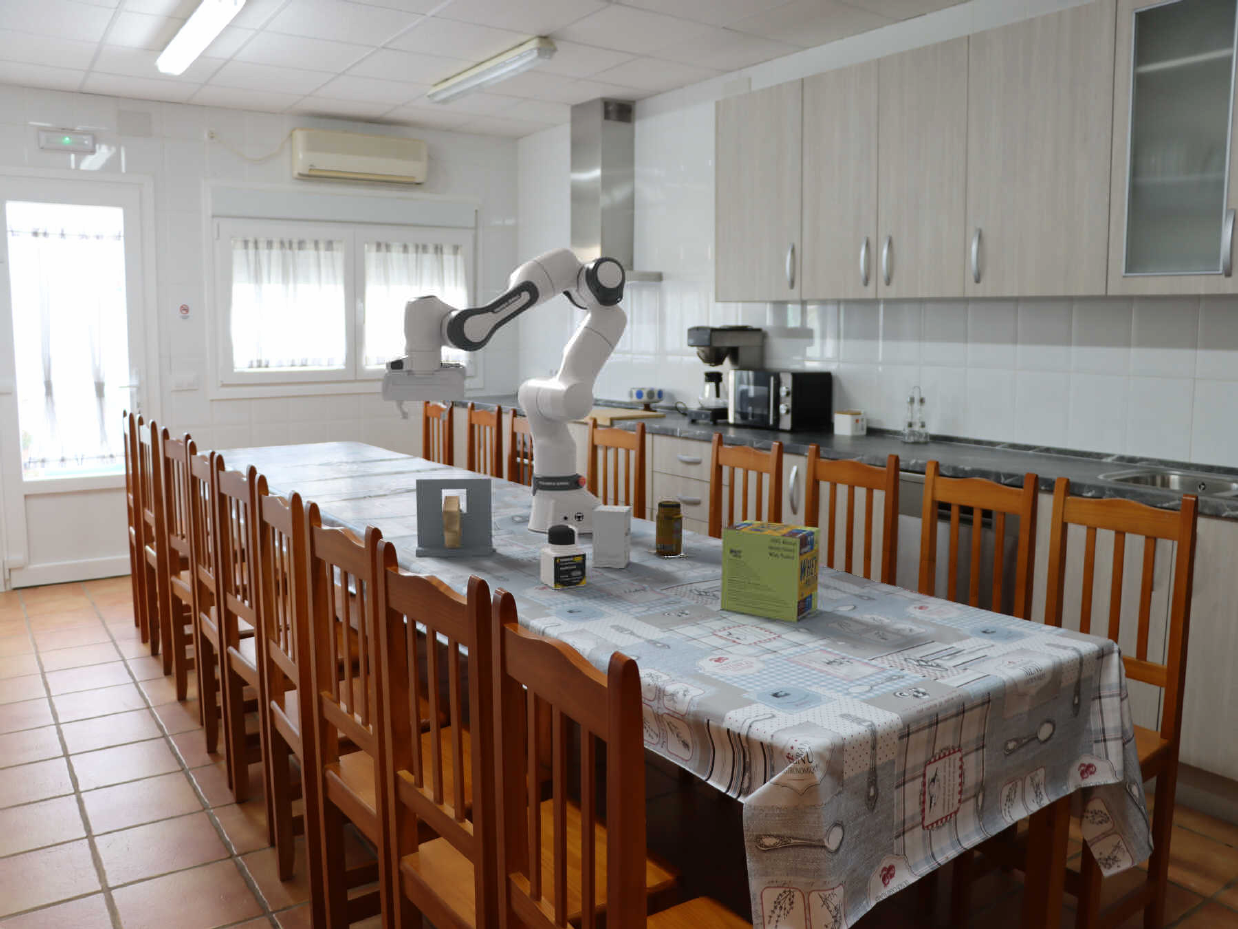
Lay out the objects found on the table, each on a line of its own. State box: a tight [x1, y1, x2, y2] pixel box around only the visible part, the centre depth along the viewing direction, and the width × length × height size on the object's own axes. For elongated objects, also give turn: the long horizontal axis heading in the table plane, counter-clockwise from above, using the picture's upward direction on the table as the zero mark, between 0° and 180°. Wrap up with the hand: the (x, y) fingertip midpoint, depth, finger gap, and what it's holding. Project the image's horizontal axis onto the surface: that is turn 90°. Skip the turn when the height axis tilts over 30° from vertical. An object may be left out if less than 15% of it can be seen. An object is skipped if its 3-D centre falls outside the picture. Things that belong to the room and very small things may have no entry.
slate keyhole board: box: [415, 478, 494, 557], centre depth 225 cm, size 17×8×17 cm, turn 94°
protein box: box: [720, 519, 821, 623], centre depth 180 cm, size 10×15×16 cm
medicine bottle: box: [540, 525, 587, 590], centre depth 197 cm, size 7×7×12 cm
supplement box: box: [592, 505, 632, 569], centre depth 214 cm, size 7×7×13 cm
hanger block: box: [442, 495, 464, 548], centre depth 221 cm, size 4×10×10 cm, turn 4°
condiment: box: [648, 500, 691, 559], centre depth 224 cm, size 7×8×12 cm
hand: (424, 419), depth 239 cm, fingers open, 8 cm apart
